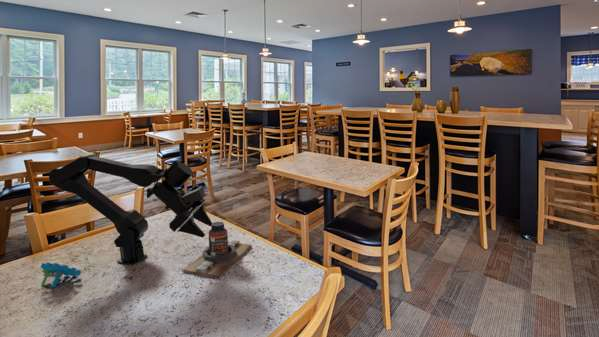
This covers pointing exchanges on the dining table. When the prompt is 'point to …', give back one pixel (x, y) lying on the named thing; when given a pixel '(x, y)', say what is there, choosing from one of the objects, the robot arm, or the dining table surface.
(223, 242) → the supplement bottle
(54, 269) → the teal plastic irregular piece
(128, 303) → the dining table surface
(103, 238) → the dining table surface
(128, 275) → the dining table surface
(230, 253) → the octagonal bottle holder
